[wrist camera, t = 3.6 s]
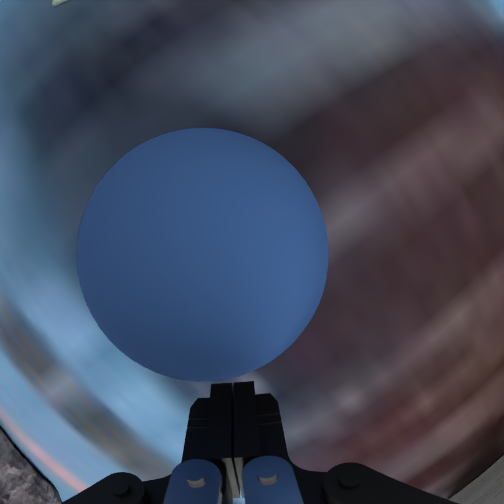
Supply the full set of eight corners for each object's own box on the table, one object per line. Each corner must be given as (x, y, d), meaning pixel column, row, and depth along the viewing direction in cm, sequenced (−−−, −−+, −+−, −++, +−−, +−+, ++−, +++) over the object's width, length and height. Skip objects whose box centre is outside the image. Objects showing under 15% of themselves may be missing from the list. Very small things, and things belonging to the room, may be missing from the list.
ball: (144, 322, 11) (83, 432, 5) (116, 159, 10) (2, 147, 4) (305, 305, 11) (362, 415, 5) (290, 135, 10) (358, 84, 4)
